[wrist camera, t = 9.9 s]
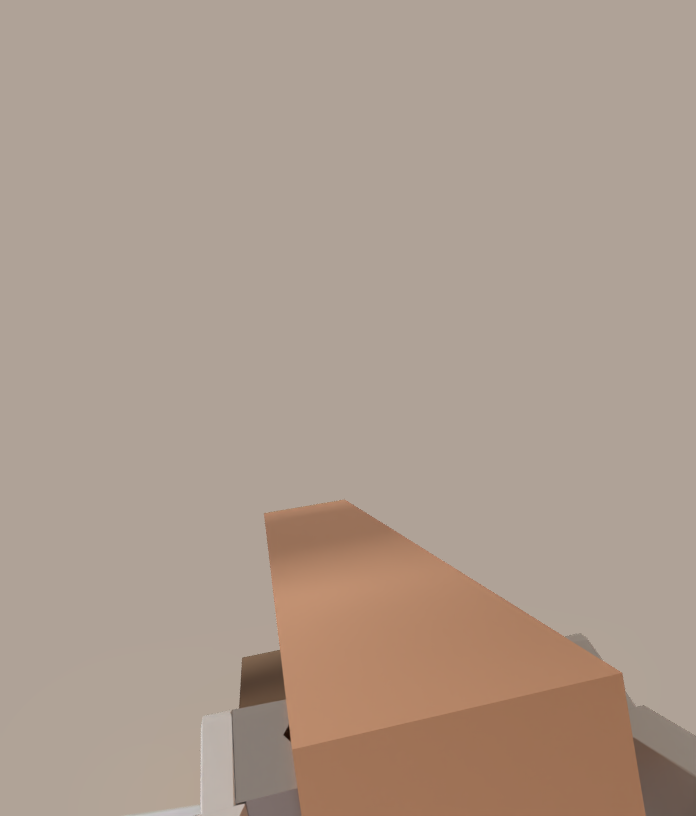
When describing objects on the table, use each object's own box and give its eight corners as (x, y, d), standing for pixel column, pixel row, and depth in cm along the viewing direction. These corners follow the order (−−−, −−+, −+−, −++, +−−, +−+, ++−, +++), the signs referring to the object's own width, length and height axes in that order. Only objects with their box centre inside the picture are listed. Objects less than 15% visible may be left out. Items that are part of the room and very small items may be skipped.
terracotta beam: (678, 1014, 7) (622, 673, 7) (346, 1125, 6) (292, 749, 7) (356, 580, 30) (344, 499, 30) (276, 595, 29) (264, 513, 29)
